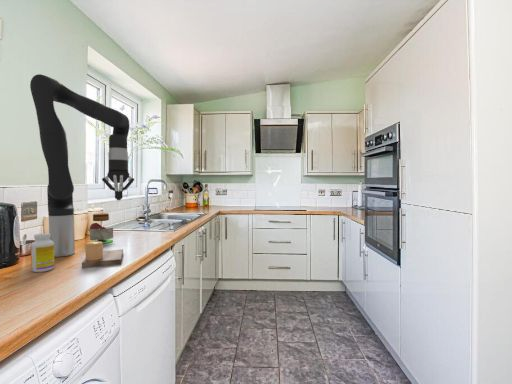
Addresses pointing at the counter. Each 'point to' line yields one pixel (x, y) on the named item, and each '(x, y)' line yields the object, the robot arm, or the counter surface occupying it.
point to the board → (105, 259)
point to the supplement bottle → (42, 253)
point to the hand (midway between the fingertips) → (118, 200)
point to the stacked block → (100, 229)
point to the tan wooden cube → (94, 251)
